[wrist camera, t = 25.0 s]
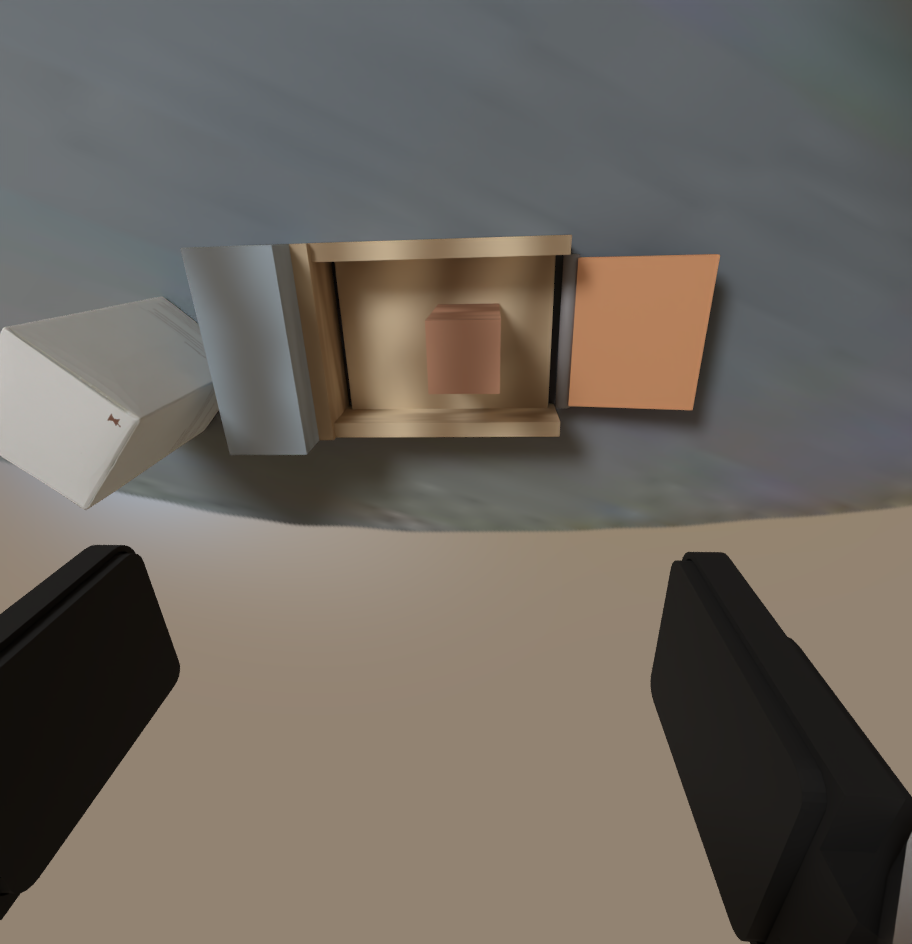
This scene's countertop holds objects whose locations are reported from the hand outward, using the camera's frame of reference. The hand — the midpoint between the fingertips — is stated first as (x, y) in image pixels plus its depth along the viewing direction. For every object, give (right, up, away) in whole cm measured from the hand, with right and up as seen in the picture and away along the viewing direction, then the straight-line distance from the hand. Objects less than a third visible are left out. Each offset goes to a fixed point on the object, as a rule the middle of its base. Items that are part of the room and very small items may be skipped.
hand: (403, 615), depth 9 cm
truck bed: (-3, +12, +26) cm, 29 cm away
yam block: (+2, +12, +25) cm, 27 cm away
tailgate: (+8, +12, +24) cm, 28 cm away
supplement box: (-19, +10, +28) cm, 35 cm away
